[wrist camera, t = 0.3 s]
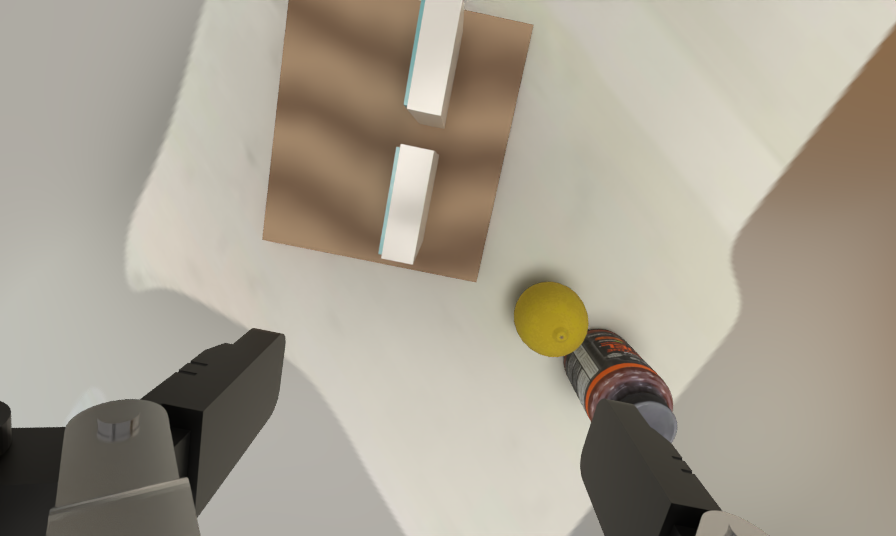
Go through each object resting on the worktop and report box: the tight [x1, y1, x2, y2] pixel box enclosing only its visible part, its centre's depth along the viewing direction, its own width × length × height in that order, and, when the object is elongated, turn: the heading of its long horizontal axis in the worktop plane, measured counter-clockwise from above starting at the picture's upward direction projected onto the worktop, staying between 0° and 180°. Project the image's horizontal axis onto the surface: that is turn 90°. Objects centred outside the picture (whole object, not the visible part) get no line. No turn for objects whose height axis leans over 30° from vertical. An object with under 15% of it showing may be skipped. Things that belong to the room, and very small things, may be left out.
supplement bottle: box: [564, 329, 677, 443], centre depth 34 cm, size 6×6×11 cm
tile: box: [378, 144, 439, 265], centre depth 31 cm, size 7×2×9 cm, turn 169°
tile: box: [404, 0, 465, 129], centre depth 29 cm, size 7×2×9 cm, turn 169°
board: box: [262, 0, 533, 282], centre depth 35 cm, size 20×18×1 cm
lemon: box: [514, 282, 588, 357], centre depth 35 cm, size 6×6×8 cm
